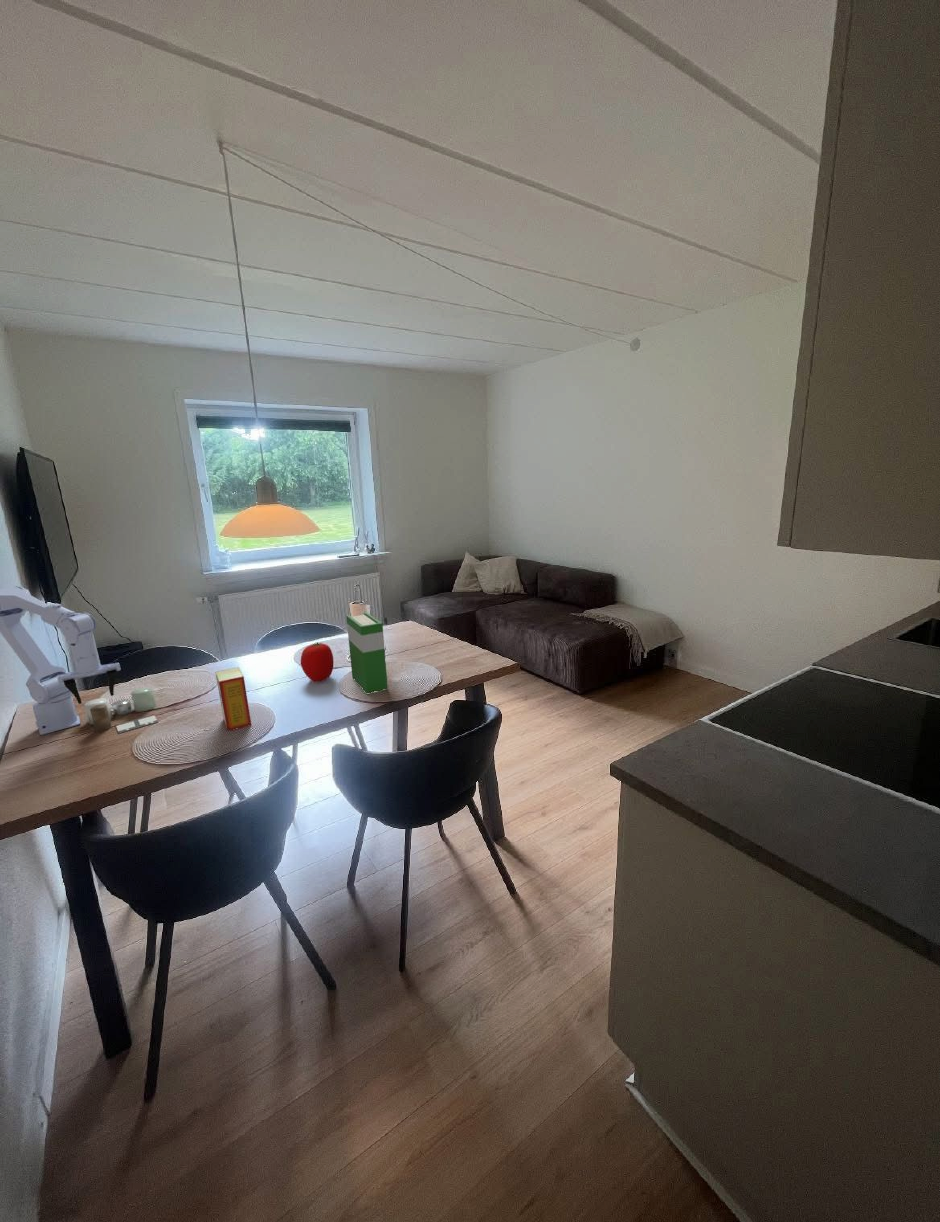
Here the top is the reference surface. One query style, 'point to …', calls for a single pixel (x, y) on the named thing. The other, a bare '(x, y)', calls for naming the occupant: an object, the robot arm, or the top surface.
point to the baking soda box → (233, 698)
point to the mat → (136, 723)
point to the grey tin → (122, 707)
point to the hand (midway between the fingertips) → (96, 698)
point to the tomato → (317, 662)
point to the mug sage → (143, 699)
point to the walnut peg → (100, 717)
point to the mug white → (94, 703)
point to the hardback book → (367, 652)
